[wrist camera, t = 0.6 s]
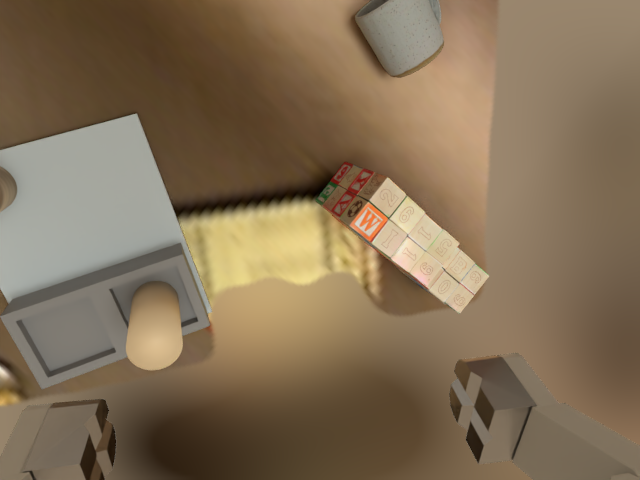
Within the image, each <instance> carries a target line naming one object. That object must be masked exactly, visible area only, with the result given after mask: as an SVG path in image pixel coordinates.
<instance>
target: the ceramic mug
mask: <svg viewBox="0 0 640 480" xmlns="http://www.w3.org/2000/svg"><path fill="white" fill-rule="evenodd" d="M355 21H356V23H357V24H358V26H359V27H360V29H361V31H362V33H363V34H364V36H365V38H366V39H367V41H368V43H369V44H370V46H371V48H372V49H373V51H374V53H375V54H376V56H377V58H378V60H379V62H380V63H381V65H382V66H383V68H384V69H385V70H386V71H387V72H388V74H389V75H390V76H392V77H404V76H407V75H410V74H412V73H414V72H416V71H418V70H420V69H421V68H423V67H424V66H426V65H427V64H429V63H430V62H431V61H432V60H433V59H435V58H436V57H437V55H438V54H439V53H440V52H441V50H442V48H443V46H444V40H443V35H442V31H441V29H440V26H439V25H440V22H441V9H440V4H439V1H438V0H371V1H370V2H369V3H367V4H366V5H365V6H364V7H363V8H362V9H361V10H360V11H359V12H358V13H357V14H356V16H355Z"/></svg>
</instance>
